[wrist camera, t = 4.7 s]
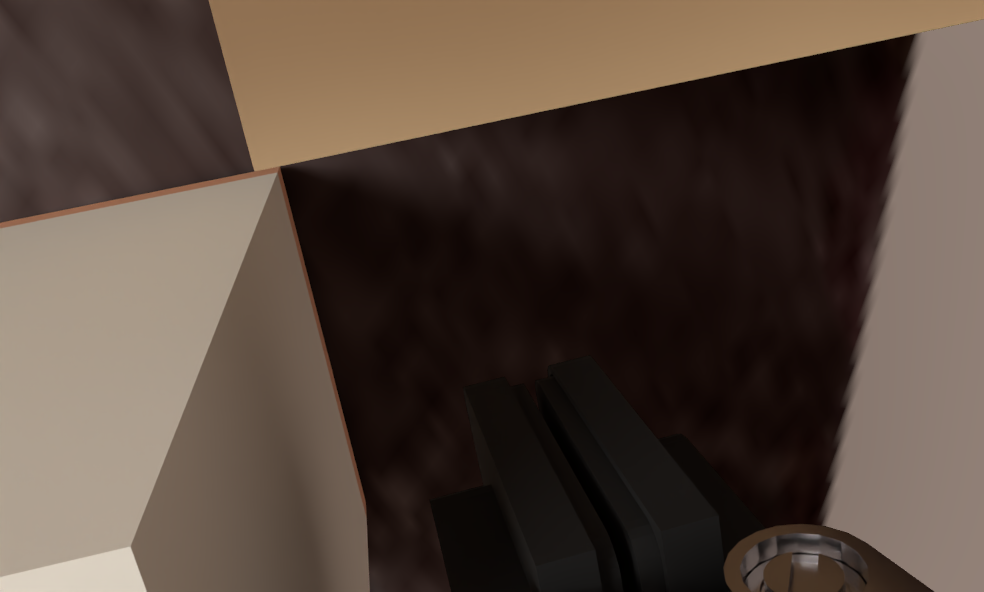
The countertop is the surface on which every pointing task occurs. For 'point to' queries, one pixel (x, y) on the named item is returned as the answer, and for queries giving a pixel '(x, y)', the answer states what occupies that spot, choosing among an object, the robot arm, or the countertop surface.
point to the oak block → (507, 57)
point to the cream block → (171, 401)
